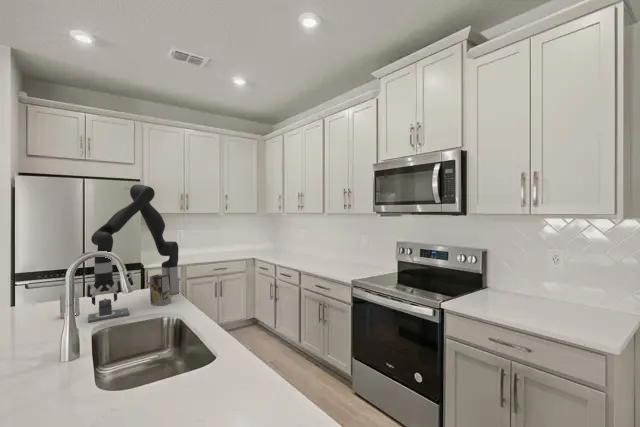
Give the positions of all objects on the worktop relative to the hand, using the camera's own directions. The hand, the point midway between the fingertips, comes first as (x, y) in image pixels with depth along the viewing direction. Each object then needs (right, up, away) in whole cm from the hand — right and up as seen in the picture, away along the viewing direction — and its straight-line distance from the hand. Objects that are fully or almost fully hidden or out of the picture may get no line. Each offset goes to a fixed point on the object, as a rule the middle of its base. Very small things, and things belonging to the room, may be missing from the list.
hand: (104, 302), depth 161 cm
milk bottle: (-19, -8, +2) cm, 21 cm away
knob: (0, -6, 0) cm, 6 cm away
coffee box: (+18, -6, +21) cm, 28 cm away
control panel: (+2, -7, +1) cm, 7 cm away
